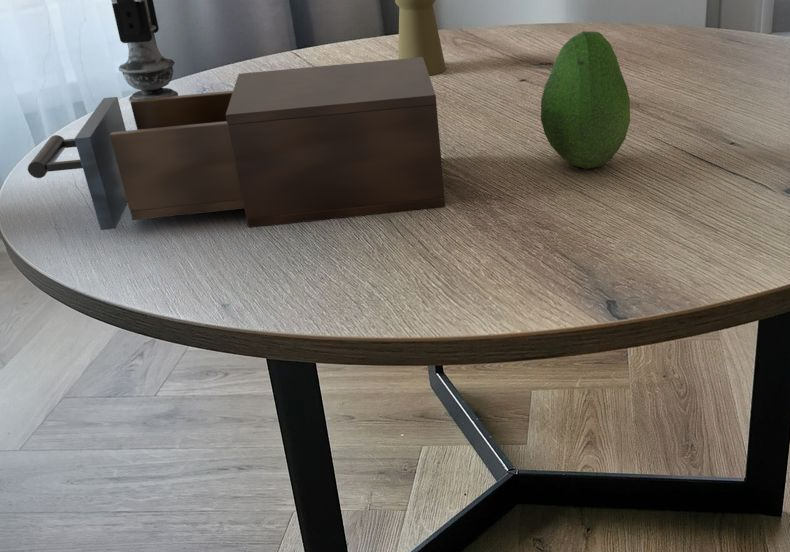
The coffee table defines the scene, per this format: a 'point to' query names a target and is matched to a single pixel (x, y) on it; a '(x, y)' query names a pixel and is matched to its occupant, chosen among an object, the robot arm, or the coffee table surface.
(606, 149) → the fruit
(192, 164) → the drawer
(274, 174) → the cabinet
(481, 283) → the coffee table surface
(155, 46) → the salt shaker
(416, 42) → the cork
